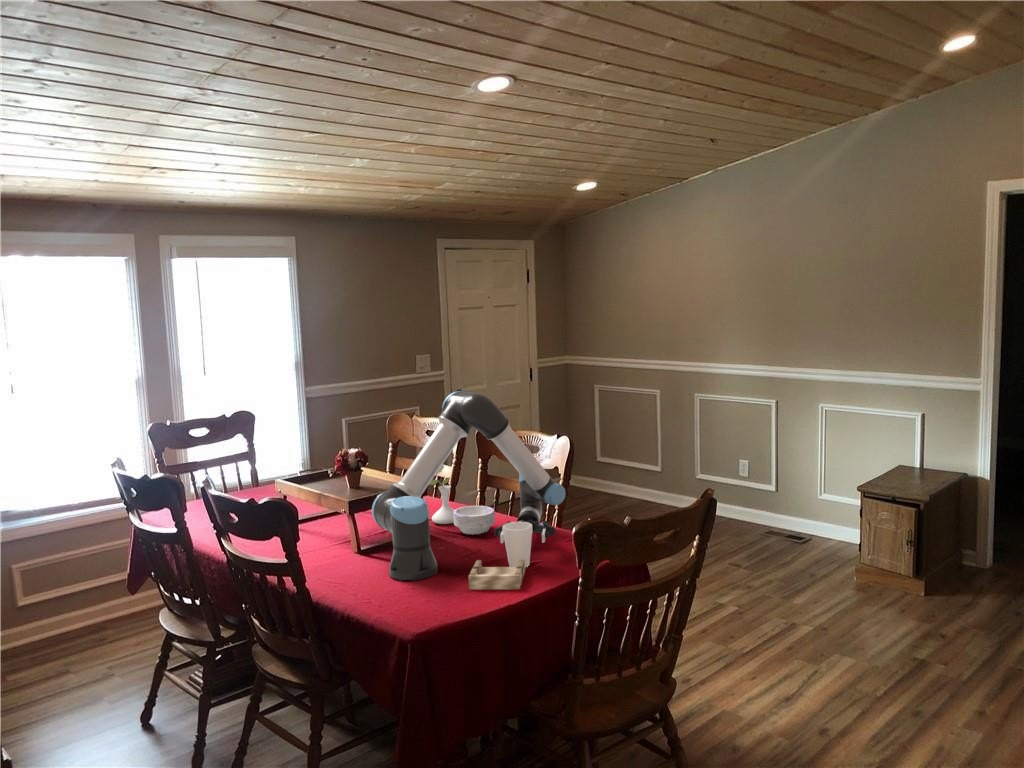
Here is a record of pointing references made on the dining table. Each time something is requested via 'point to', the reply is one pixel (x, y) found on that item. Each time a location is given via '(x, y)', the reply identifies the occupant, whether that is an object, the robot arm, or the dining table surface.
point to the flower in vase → (445, 511)
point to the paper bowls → (474, 519)
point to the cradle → (496, 576)
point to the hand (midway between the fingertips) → (522, 539)
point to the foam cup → (518, 542)
